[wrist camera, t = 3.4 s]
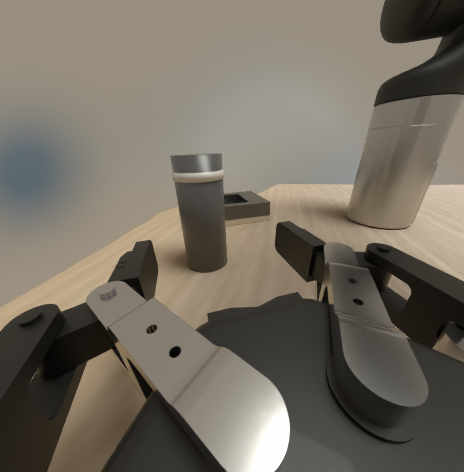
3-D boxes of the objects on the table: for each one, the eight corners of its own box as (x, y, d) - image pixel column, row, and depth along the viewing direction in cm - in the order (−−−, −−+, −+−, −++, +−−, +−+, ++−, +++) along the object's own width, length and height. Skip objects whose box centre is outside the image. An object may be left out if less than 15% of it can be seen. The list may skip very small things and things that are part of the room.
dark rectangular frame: (250, 206, 43) (250, 191, 41) (269, 220, 34) (270, 202, 33) (190, 212, 40) (188, 196, 38) (193, 230, 31) (190, 210, 30)
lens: (223, 247, 25) (217, 153, 20) (232, 268, 21) (228, 154, 16) (186, 253, 24) (170, 155, 19) (188, 276, 20) (167, 156, 15)
